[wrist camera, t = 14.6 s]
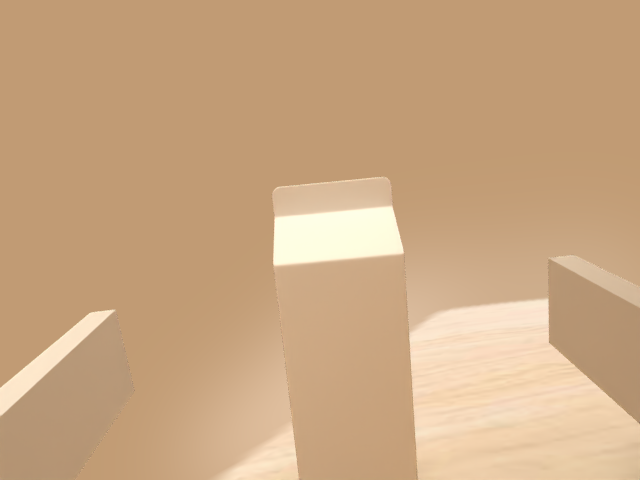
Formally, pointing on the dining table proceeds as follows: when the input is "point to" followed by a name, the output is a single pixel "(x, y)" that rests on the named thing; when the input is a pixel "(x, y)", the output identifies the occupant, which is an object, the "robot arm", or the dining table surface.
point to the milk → (345, 330)
